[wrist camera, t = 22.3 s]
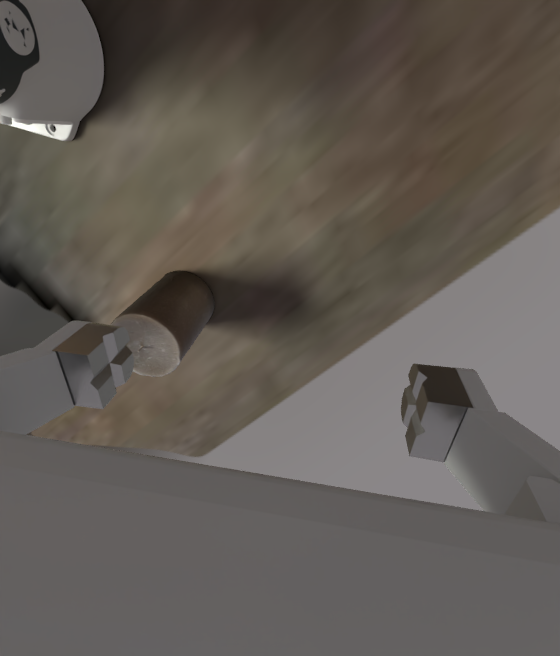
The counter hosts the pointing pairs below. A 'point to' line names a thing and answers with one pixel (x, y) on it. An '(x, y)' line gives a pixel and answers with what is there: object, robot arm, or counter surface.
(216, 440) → the counter surface
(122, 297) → the counter surface
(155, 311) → the pillar candle
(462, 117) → the counter surface
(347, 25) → the counter surface
